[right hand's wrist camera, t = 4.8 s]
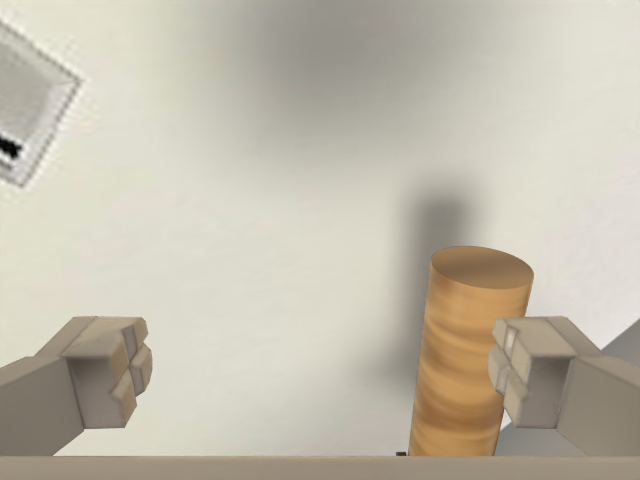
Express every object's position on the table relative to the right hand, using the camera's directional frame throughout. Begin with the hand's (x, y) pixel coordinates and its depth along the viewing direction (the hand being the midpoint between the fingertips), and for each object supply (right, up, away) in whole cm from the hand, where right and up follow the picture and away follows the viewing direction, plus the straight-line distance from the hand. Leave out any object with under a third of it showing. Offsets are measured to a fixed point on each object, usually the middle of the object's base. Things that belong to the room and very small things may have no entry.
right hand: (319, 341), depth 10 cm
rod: (+10, -8, +24) cm, 27 cm away
